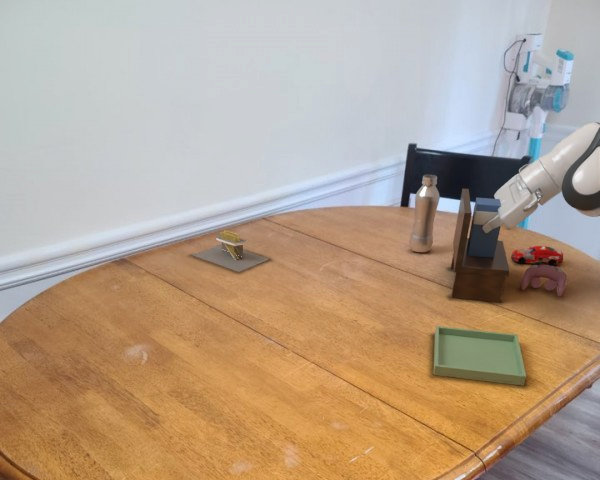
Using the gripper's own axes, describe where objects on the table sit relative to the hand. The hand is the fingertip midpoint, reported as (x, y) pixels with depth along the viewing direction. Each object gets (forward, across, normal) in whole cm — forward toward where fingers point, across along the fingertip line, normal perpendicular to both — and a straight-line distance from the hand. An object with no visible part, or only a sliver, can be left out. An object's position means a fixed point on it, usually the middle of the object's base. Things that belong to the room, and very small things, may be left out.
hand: (482, 225), depth 132 cm
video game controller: (-1, 0, -22) cm, 22 cm away
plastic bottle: (+20, +20, -1) cm, 28 cm away
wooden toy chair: (+10, 0, -11) cm, 15 cm away
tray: (+11, -37, -10) cm, 40 cm away
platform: (+55, +3, +34) cm, 65 cm away
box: (+4, 0, -5) cm, 7 cm away
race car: (-2, +19, -23) cm, 30 cm away
